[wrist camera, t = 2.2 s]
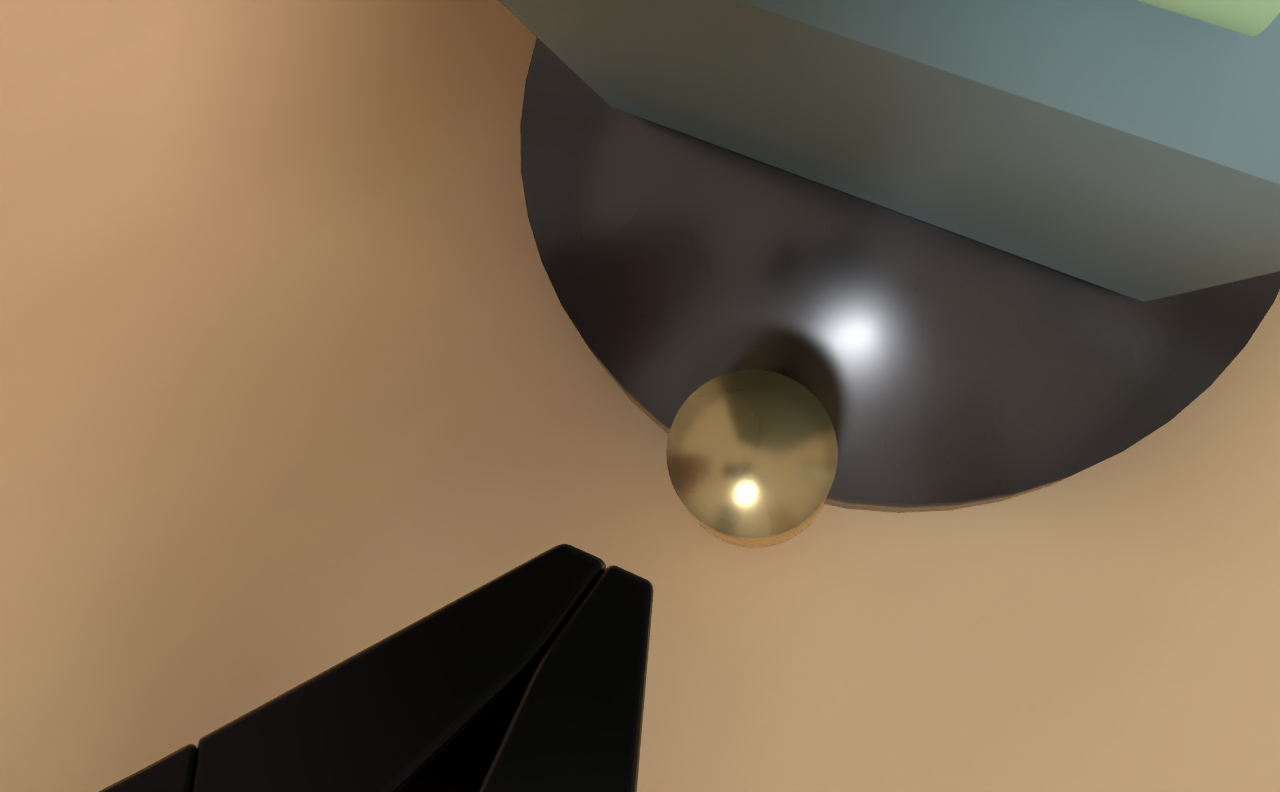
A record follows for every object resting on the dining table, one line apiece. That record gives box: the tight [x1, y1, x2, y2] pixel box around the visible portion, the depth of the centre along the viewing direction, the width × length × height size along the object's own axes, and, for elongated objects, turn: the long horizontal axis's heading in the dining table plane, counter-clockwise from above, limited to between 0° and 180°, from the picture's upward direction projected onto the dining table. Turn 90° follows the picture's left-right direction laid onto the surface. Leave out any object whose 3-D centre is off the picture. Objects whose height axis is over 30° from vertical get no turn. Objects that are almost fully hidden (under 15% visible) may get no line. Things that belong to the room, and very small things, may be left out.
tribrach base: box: [521, 37, 1280, 547], centre depth 20 cm, size 15×15×2 cm
